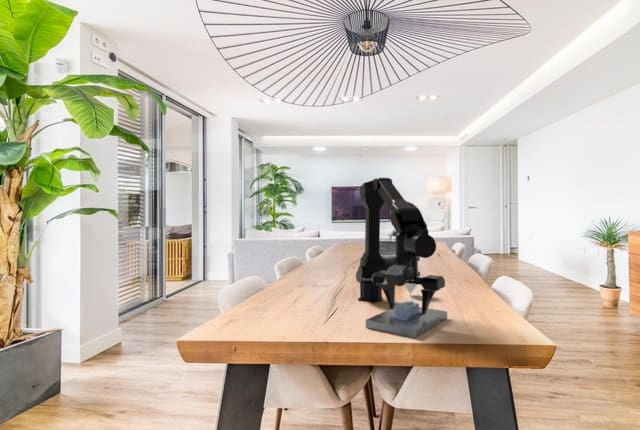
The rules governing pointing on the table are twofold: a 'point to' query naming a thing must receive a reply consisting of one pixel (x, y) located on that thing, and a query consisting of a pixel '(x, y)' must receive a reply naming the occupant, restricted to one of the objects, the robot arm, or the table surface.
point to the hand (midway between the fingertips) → (407, 311)
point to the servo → (407, 311)
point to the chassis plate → (406, 323)
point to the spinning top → (411, 285)
